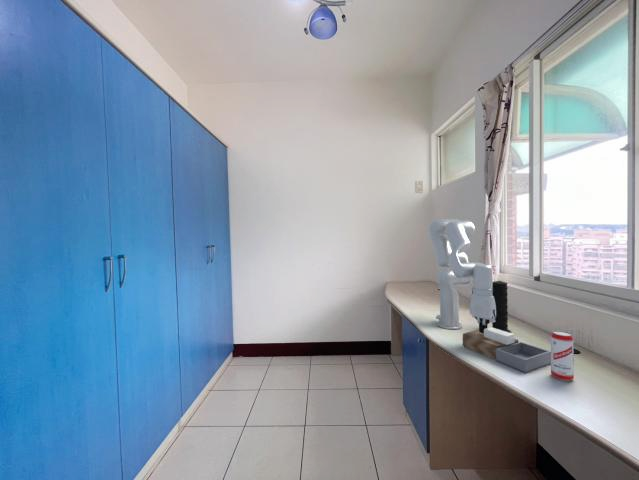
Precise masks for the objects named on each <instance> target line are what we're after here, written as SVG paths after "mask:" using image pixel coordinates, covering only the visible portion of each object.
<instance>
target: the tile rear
mask: <svg viewBox="0 0 639 480" xmlns="http://www.w3.org/2000/svg"><path fill="white" fill-rule="evenodd" d="M499 331H502V330H499V329H496V328H492V326H491V327H487V328H486V329H484V337H486V338H489V339H492V340H494V341H495V332H499Z"/></svg>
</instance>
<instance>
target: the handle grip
mask: <svg viewBox="0 0 639 480" xmlns="http://www.w3.org/2000/svg"><path fill="white" fill-rule="evenodd" d="M492 289H493V296H494V299H495V305H496V318H495V322H493V323H491V324H492V326H491V327H492V328H496V329H499V330H502V331H505V332H509V333H512V330H510V329H509V328H508V327H509V323H508V321H509V320H508V315H509V314H508V313H509V312H508V307H509V306H508V302H509V301H508V282H505V281H501V280H496V281H492ZM512 334H513V333H512Z"/></svg>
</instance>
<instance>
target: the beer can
mask: <svg viewBox="0 0 639 480" xmlns="http://www.w3.org/2000/svg"><path fill="white" fill-rule="evenodd" d="M574 342H575V339H574V338H573V335H572V333H570V332H567V331H564V330H553V331H552V334H551V335H550V351H551V364H550V373H551V375H552V376H553V377H554V379H557V380H559V381H563V382H571V381H573V380H574V375H575V373H574V371H575V370H574V368H575V367H574V366H575V364H574V363H575V362H574V361H575V359H574V356H575V354H574V353H575V352H574V351H575V349H574V346H575V345H574Z"/></svg>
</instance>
